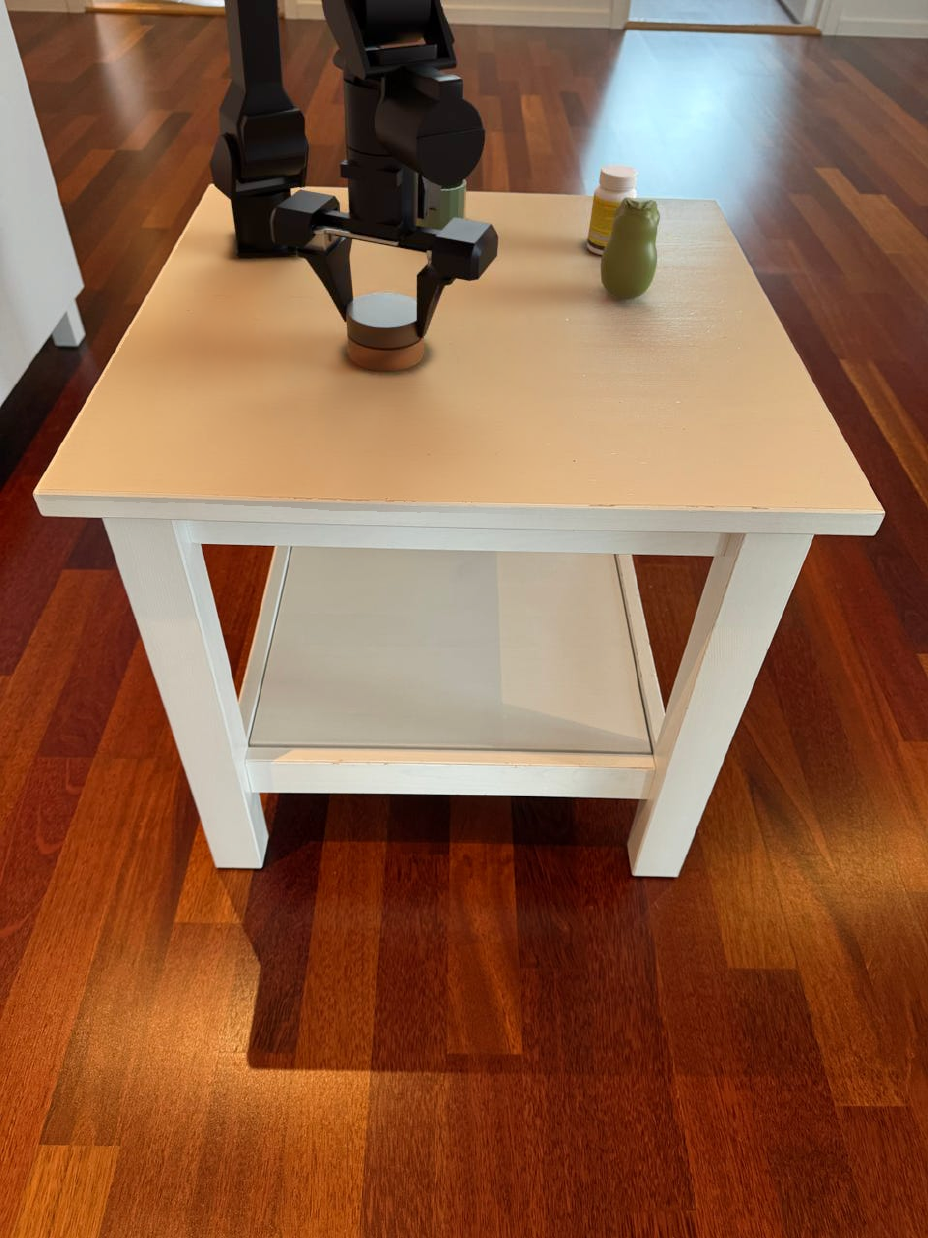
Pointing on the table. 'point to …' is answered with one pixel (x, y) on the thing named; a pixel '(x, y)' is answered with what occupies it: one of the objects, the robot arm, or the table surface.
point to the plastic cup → (447, 207)
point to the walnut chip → (382, 320)
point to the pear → (631, 249)
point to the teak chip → (385, 356)
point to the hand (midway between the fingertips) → (385, 328)
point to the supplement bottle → (609, 202)
